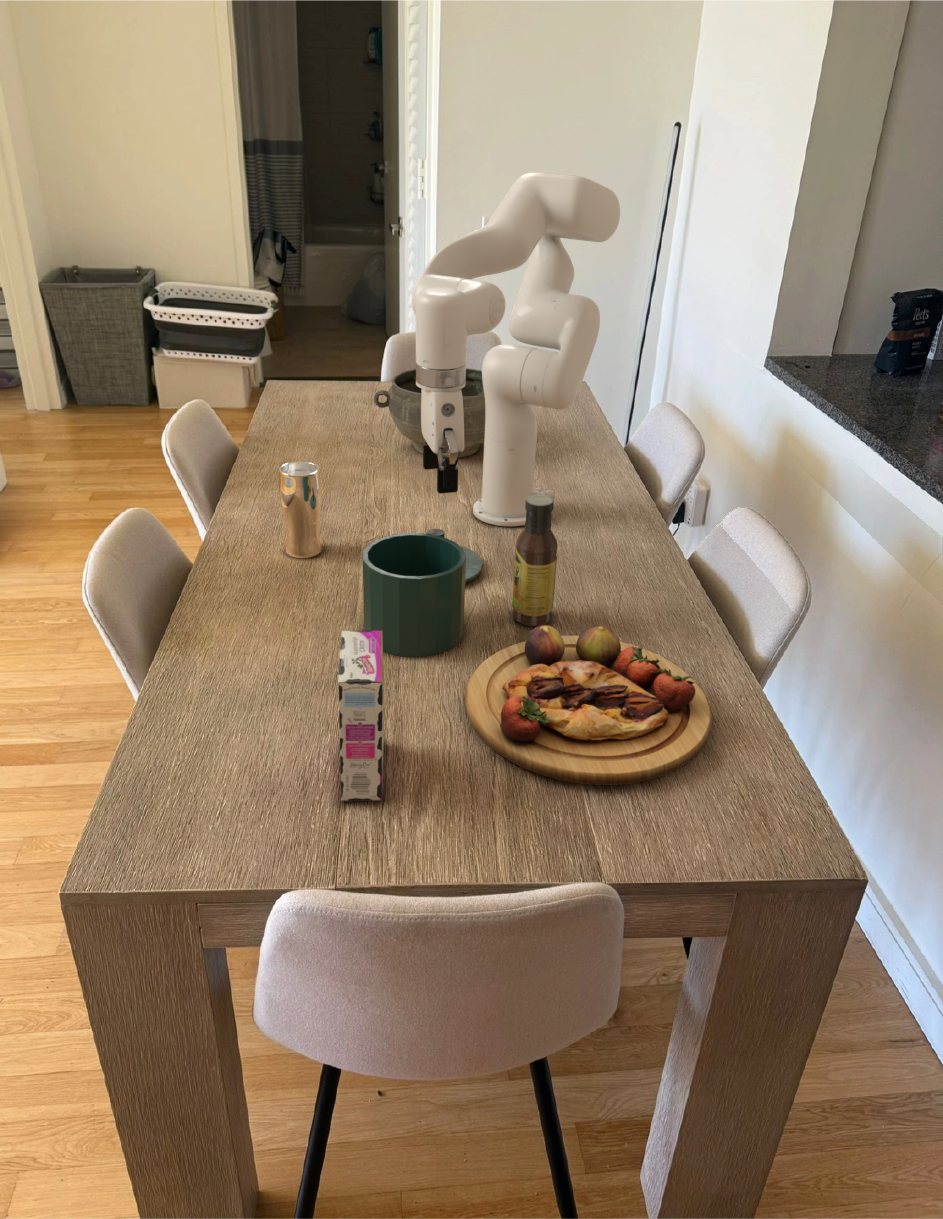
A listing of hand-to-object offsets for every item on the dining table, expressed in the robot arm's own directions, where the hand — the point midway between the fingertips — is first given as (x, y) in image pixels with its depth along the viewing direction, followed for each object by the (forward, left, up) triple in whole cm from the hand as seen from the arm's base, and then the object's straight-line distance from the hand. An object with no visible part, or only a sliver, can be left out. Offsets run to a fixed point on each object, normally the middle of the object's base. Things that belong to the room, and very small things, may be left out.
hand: (440, 479), depth 151 cm
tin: (+13, +17, -16) cm, 27 cm away
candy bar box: (+32, +44, -16) cm, 57 cm away
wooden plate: (+1, +45, -16) cm, 48 cm away
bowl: (-27, -52, -16) cm, 61 cm away
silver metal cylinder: (+19, -15, -16) cm, 28 cm away
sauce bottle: (-5, +21, -16) cm, 27 cm away
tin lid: (+1, 0, -15) cm, 15 cm away
